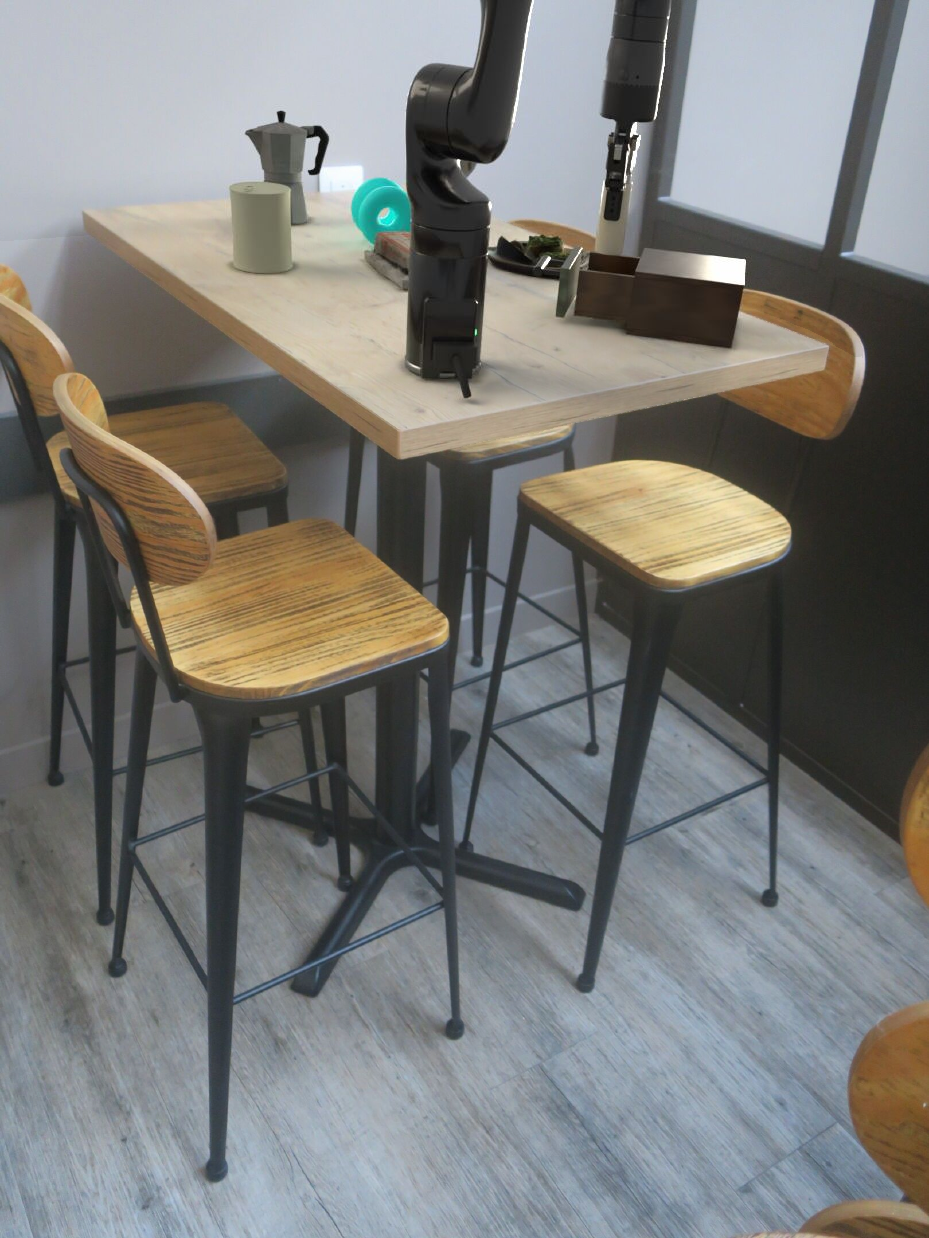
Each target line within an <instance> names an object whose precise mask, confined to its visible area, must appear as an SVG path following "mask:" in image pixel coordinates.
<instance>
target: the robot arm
mask: <svg viewBox="0 0 929 1238" xmlns="http://www.w3.org/2000/svg"><path fill="white" fill-rule="evenodd" d="M479 4H480V30H479V37H478V45H477V51H476V56H475V60H474V64H473V67H471V66H466V65H465V66H464V65H457V64H452V63H445V62H444V63H442V62H431V63H428V64H426V65H425V64H424V66H422V67H421V68H420V69H419V70H418V71H417V72H416V73H415V75H414V77H413V79H412V81H411V83H410V86H409V90H408V93H407V98H406V103H405V115H404V143H405V147H404V148H405V149H404V150H405V189H406V193H407V195H408V199H409V202H410V206H411V229H410V253H409V280H408V289H407V308H406V338H405V340H406V341H405V355H404V366H405V368H406V369H407V370H408V371H410V372H411V373H414V374H417V375H419V376H420V378H421V379H424V380H427V379H430V380H431V379H433V380H458V382H459V386H460V391H461V393H462V397H463V399H469V398H471V397H472V392H471V388H470V385H469V380H472V379H473V376H474V375H476V374H478V373H479V372H480V371H481V368H482V367H481V366H482V360H481V356H482V355H481V353H482V341H483V327H484V315H485V314H484V312H485V302H486V301H485V300H486V288H487V274H488V261H489V260H488V250H489V247H490V235H491V233H490V232H491V221H492V202H491V200H490V198H489V197H488V196H487V195H486V194H485V193H484V192H482V191H481V190H480V189H478V188H477V187H476V186H475V185H474V184H473V183H472V182H471V181H470V180H469V179H468V178H466V177H465V175H464V173H463V172H462V170H461V167H460V161H466V162H472V163H477V164H479V165H489V164H491V163H494V162H495V161H496V160H498V159H499V158H500V157H501V155H502V154H503V152H504V151H505V149H506V148H507V145H508V143H509V140H510V138H511V135H512V131H513V128H514V124H515V118H516V114H517V109H518V103H519V102H518V101H519V97H520V96H519V95H520V90H521V82H522V75H523V69H524V60H525V56H526V55H525V54H526V47H527V42H528V41H527V39H528V34H529V27H530V23H531V18H532V10H533V6H534V0H479ZM671 8H672V0H614V9H613V17H612V23H611V32H610V40H609V45H608V49H607V52H606V57H605V65H604V72H603V80H602V88H601V95H600V104H599V111H598V112H599V116H600V117H601V118H604V119H607V120H613V121H614V122H615V125H614V126H615V127H614V131H610V133H608V137H607V142H606V147H607V156H606V162H605V170H606V174H605V179H606V180H605V188H606V190H607V194H606V201H605V209H604V216H603V217H604V219H605V220H609V221H618V220H619V219H620V214H621V207H622V200H623V193H624V190H625V189H626V186H625V184H626V178H627V175H628V174H632V175H633V173H632V171H633V170H634V168H635V165H636V158H637V151H638V149H639V146H640V140H641V134H638V133H637V132H636V131H637V123H641V124H642V123H643V124H644V123H652V122H654V121H655V120H656V117H657V115H658V114H657V112H658V107H659V106H658V104H659V99H660V94H661V86H662V81H663V75H664V74H663V73H664V67H665V58H666V57H665V56H666V55H665V54H666V49H665V48H666V42H667V41H666V40H667V33H668V27H669V21H670V15H671ZM459 160H460V161H459ZM613 173H621V179H613V178H612V174H613Z"/></svg>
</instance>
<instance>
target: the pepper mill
mask: <svg viewBox="0 0 929 1238" xmlns="http://www.w3.org/2000/svg"><path fill="white" fill-rule="evenodd" d="M632 175H633V173H632V174H628V175H627V178H626V184H625V186H626V189H625V190H624V193H623V200H622V207H621V214H620V219H619V220H618V221H609V220H605V219H604V217H603V216H604V209H605V201H606V194H607V190H606V188H605V180H606V178H604V179H603V180H602V188H601V195H600V204H599V212H598V217H597V226H596V233H595V241H594V248H593V251H594V252H597V253H600V254H604V255H623V253H624V252H623V251H624V245H625V239H626V238H625V237H626V232H627V225H628V218H629V211H630V205H631V197H632V192H633V191H632V190H633V184H634V183H633V181H632V178H633V177H632ZM612 178H613V179H621V173H613V174H612Z"/></svg>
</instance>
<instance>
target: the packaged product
mask: <svg viewBox="0 0 929 1238" xmlns="http://www.w3.org/2000/svg"><path fill="white" fill-rule="evenodd" d="M409 253H410V233H409V232H406V231H396V232H394V231H392V232H379V233H376V237H375V243H374V245H373V250H369V249H366V250H364V251H363V255H364V257H363V258H364V260H365V261H366V262H367V263H369V264H370V265H371V266H372V267H373V268H375V269H376V271H377V272H378V273H379V274H380V275H381V276H383V277H386V278H387V279H389V280H390V281H391V282H392V283H394V284H395V285H396V286H398V287H399V288H400V289H401V290H408V280H409Z"/></svg>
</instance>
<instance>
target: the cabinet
mask: <svg viewBox="0 0 929 1238" xmlns="http://www.w3.org/2000/svg"><path fill="white" fill-rule="evenodd" d="M640 257H641V258H640V261H639V263H638V266H637V268H636V271H635V276H634V282H633V289H632V296H631V302H630V309H629V316H628V322H627V323H626V330H625V334H626V335H631V336H637V337H645V338H653V339H659V340H666V341H667V340H668V341H676V342H683V343H689V344H698V345H705V346H711V347H719V348H720V347H721V348H728V349H732V347H733V342H734V337H735V332H736V329H737V328H736V327H737V323H738V318H739V314H740V309H741V303H742V298H743V294H744V289H745V279H746V278H745V276H746V275H745V273H746V259H742V258H741V259H740V258H733V257H724V256H718V255H717V256H716V255H708V254H699V253H691V252H682V251H675V250H668V249H667V250H666V249H658V248H649V247H644V248H643V251H642V253H641V256H640Z"/></svg>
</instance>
